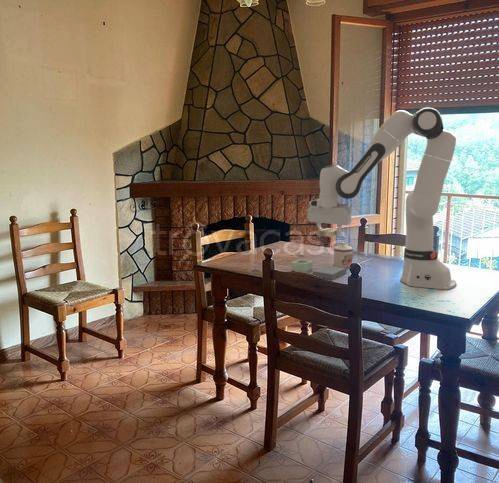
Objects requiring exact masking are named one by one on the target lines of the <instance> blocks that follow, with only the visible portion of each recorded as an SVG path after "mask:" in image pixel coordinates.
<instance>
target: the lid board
mask: <svg viewBox="0 0 499 483" xmlns="http://www.w3.org/2000/svg"><path fill="white" fill-rule="evenodd" d="M335 230H337V228H336V227H335V228H332V227H327V228H323V229H322V230H319V229H318V230H316V236H319V237H326V238H327V237H328V238H331V237H334V236H338V235H340V234H341V232H342V228H341V229H340V231H339V234H335Z"/></svg>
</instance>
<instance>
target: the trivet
mask: <svg viewBox="0 0 499 483" xmlns="http://www.w3.org/2000/svg"><path fill="white" fill-rule="evenodd" d="M346 274H347V268H341V267H335V266H334V265H324V266H321V267H318V268H317V269H314V270H312V276H313V275H316V276H319V277H322V278H321V279H324V278H325V280H331V281H333V280H336V279H338V278H339V277H342V276H344V275H346Z"/></svg>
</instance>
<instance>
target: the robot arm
mask: <svg viewBox="0 0 499 483" xmlns="http://www.w3.org/2000/svg"><path fill="white" fill-rule="evenodd" d="M444 128H445V127H444V123H443V117H442V115H441V113H440V111H439V110H437V109H435V107H434V108H433V107H429V106H428V107H423V108H421V109H419V110H418V111H417V112H416V113H415V114H412V113H409V112H408V111H406V110H403V109H400V110H396V111H394V113H392V114H391V115H390V116H389V117H388V118H387V119H386V120H385V121H384V122H383V123H382V125H381V126H380V127H379V128H378V129H377V130H376V131H375V134H374V135H373V137H372V139H371V141H370V143H369V145H368V147H367V149H366V152H364V155H363V156H362V157H361V158H360V160H359V161H357V163H356V164H355V165H354V167H353V168H352V169H350V171H348V170H346V169H344V168H343V167H341V166H340V165H339V164H332V165H327V166H324V167H323V168H321V170H320V174H319V190H320V192H319V196H318V198H315V199H312V200H310V201H309V202H308V205H309V207H308V209H307V221H308V222H311V223H316V227H317V229H318V231H319V230H322V229H324V228H323V227H322V224H328V225H329V224H331V225H336V227H337V228H336V229H337V230H335V234H338V235H340V234H339V231H340V229H341V230H342V227H343V226H350V224H351V223H352V206H351V205H350V204H349V203H344V202H343V203H342V202H340V201H341V200H340V199H341V198H342V199H345V200H346V199H347V200H350V199H354V198H355V197H357V195H358V194H359V192H360V190H361V189H362V187H363V182H364V180H365V179H366V177H367V176H369V174H370V173H371V171H372V170H373V169H374V168H375V167H376V166H377V165H378V164H379V163H380V162H381V161H383V160H385V159H386V158H387V157H389V156H390V155H391V154H392V153H393V152H395V150H397V148H398V147H399V146H401V144H402V143H403V142H404V141H405V140H406V139H407V137H408V136H409V135H411V134H415V135H417V136H420V137H423V138H426V147H425V150H424V153H423V156H422V159H421V161H420V164H419V168H418V171H417V173H416V179H415V184H414V187H413V188H414V189H413V190H411V191H410V192H409V193H408V194H407V196H406V198H405V226H406V227H405V228H406V231H405V232H406V233H405V234H406V235H405V247H404V251H403V261H404V262H403V263H404V264H403V268H402V272H401V277H400V279H399V280H400V281H401V282H402V283H404V284H406V285H407V286H409V287H414V288H415V287H416V288H425V289H435V290H436V289H437V290H451V289H453V288H455V287H456V286H457V281H456V280H454V279H452V276H451V275H452V274H451V270H450V268H449V267H448V266H446V264H444V263H443V262H441V261H440V260H439V259H438V254H439V250H437V251H436V250H435V249H434V239H435V238H434V237H435V236H434V235H435V229H434V228H435V227H434V219H433V218H434V217H433V216H434V215H436V214H437V212H438V210H439V205H440V202H441V197H442V194H443V190H444V184H445V180H446V178H447V174H448V172H449V169H450V166H451V163H452V160H453V158H454V154H455V151H456V145H457V144H456V143H457V138H456V136H455V135H454V133H452V132H451V131H448V130H445V129H444Z"/></svg>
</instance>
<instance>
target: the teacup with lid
mask: <svg viewBox="0 0 499 483" xmlns="http://www.w3.org/2000/svg"><path fill="white" fill-rule="evenodd" d="M354 255H355V252H354V249H353V247H352V246H349V245H348V244H346V242H344V241H343V242H342V241H341V243H340V244H338V245H336V246H334V248H333V266H335V267H341V268H346V269H350V268H349V266H350V265H351V264H352V265H353V258H354Z"/></svg>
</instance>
